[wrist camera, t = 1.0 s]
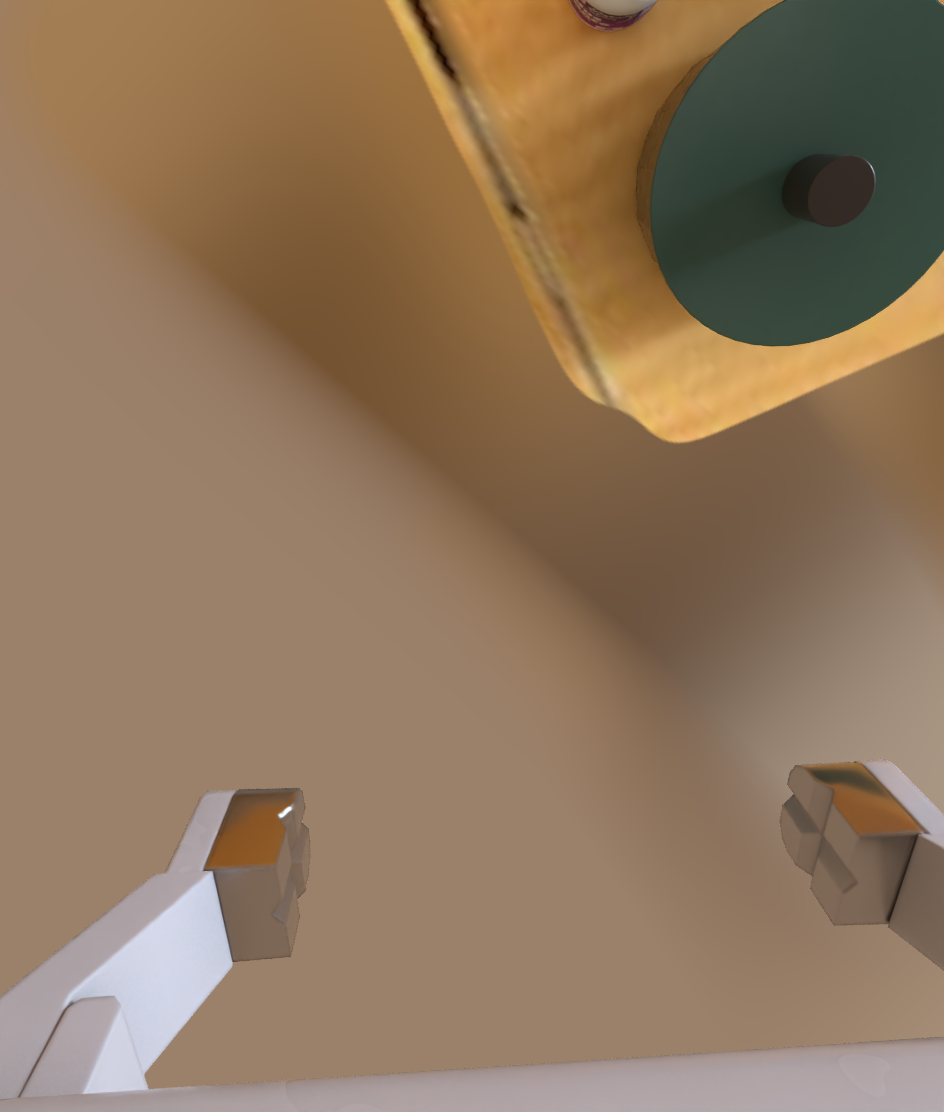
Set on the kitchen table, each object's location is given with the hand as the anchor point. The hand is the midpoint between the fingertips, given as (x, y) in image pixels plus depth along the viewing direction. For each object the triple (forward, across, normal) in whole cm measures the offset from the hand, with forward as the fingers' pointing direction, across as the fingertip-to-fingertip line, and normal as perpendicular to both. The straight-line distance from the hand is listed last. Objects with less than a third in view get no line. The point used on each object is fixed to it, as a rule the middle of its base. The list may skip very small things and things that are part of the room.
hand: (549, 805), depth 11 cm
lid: (+25, -16, -12) cm, 32 cm away
